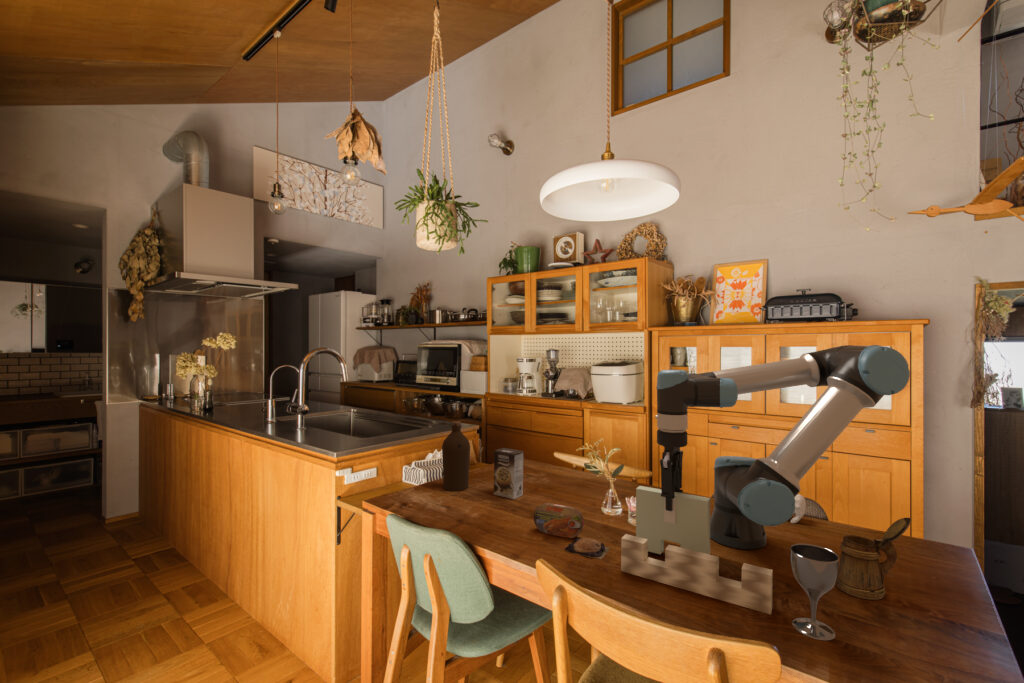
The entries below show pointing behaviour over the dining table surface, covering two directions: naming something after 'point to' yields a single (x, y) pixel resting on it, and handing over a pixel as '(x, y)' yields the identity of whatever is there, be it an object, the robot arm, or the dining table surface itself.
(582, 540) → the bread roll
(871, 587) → the wooden mug
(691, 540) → the sage board
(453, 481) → the olive oil
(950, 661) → the dining table surface
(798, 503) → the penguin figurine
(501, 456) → the coffee box
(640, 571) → the notched fence
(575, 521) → the tin
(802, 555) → the wine glass
